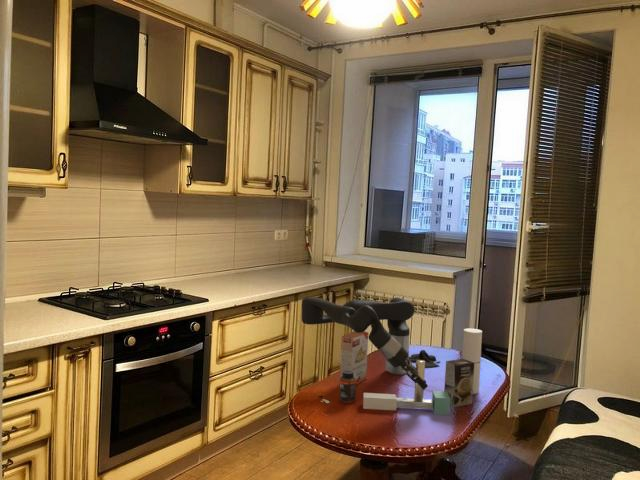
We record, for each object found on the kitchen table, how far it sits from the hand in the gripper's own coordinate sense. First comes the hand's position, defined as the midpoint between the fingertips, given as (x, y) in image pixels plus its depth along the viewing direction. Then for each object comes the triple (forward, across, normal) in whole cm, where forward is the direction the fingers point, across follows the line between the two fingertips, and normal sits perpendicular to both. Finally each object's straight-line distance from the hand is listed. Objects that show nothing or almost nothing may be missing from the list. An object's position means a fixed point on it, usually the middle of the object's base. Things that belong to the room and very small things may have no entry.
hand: (424, 385), depth 189 cm
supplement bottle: (-13, -4, -26) cm, 30 cm away
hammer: (+1, 0, -11) cm, 11 cm away
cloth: (+13, -62, -1) cm, 63 cm away
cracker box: (-12, -24, -25) cm, 37 cm away
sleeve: (-5, 0, -18) cm, 19 cm away
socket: (+11, 0, -2) cm, 11 cm away
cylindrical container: (+22, -23, +9) cm, 33 cm away
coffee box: (+16, -9, +3) cm, 19 cm away
